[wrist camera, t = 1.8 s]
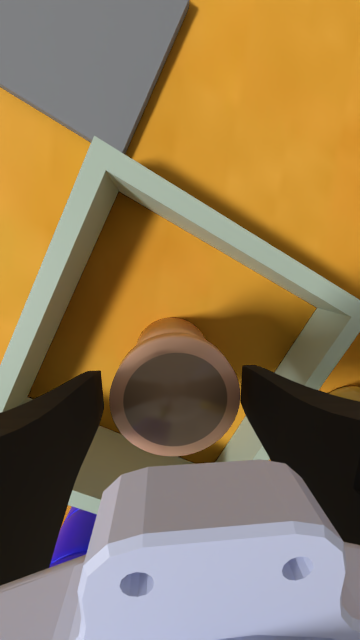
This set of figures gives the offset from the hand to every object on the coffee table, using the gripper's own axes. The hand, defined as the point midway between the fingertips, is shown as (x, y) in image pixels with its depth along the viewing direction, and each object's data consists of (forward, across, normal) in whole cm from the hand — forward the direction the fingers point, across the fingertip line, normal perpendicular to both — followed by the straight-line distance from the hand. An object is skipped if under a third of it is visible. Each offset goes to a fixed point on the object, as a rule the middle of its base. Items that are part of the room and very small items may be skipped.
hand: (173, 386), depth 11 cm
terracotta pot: (+5, 0, 0) cm, 5 cm away
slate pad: (+4, +4, -17) cm, 18 cm away
